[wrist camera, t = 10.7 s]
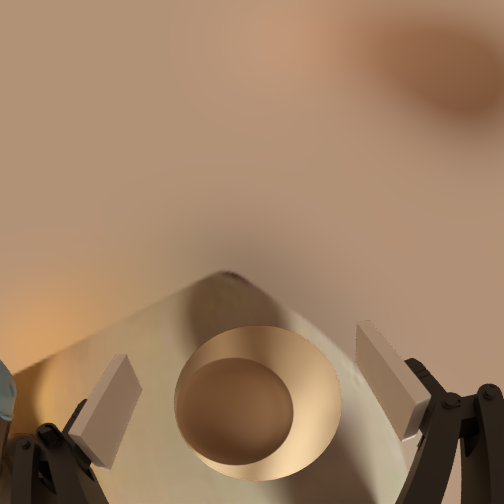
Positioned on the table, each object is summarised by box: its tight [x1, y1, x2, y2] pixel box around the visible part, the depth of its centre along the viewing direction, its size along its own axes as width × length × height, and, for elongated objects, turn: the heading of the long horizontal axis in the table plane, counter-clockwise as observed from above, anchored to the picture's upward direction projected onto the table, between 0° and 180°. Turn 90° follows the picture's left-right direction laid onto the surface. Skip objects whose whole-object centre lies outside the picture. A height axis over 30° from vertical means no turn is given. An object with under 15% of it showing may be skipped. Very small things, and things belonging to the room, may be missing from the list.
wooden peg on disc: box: [174, 325, 342, 481], centre depth 13 cm, size 13×13×15 cm
